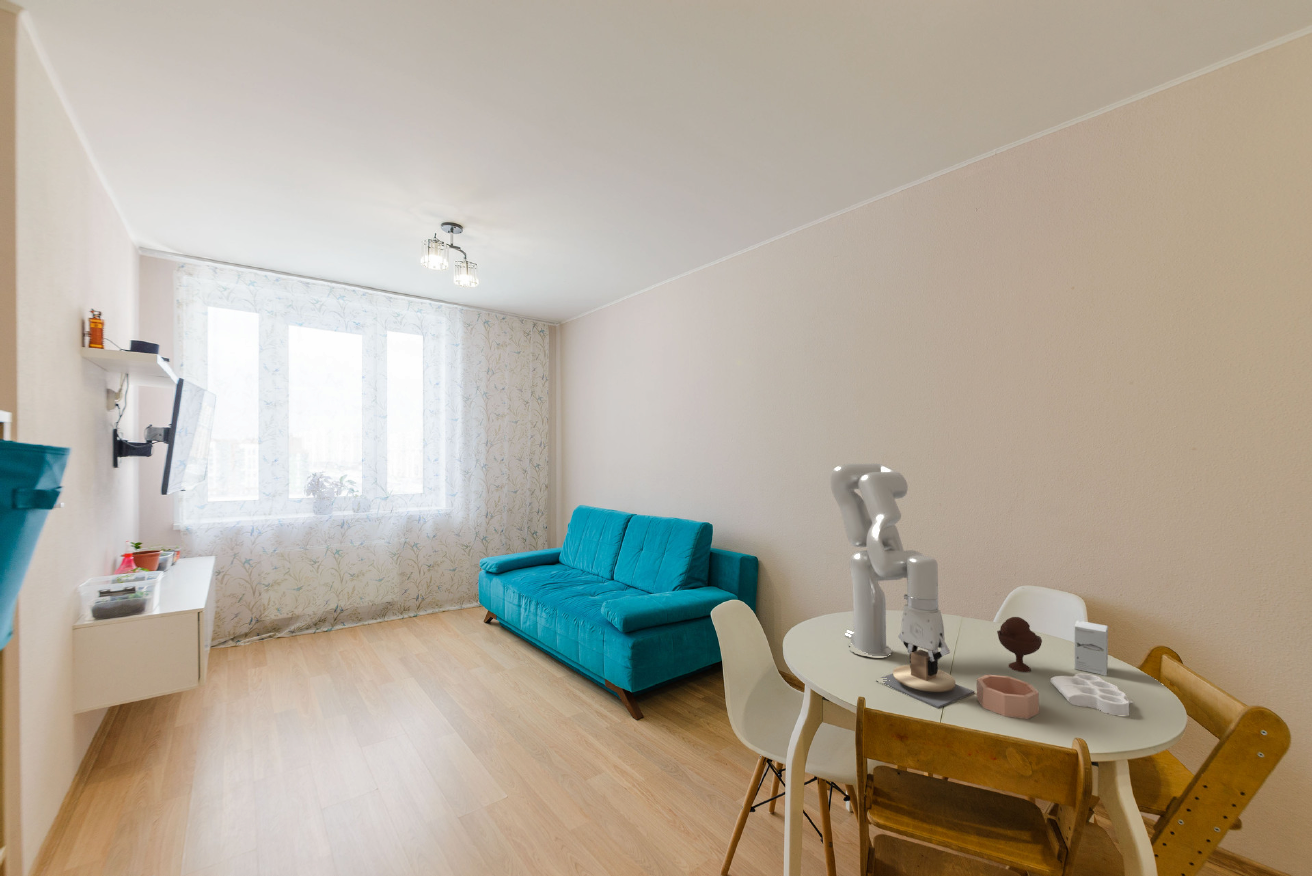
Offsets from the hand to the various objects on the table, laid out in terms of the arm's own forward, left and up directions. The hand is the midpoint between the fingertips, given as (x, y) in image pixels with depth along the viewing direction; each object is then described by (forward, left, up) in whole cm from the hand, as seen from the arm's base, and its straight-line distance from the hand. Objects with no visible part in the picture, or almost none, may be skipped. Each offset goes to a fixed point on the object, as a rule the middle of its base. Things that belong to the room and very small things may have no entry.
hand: (923, 670), depth 145 cm
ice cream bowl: (+7, +35, -5) cm, 36 cm away
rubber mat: (0, 0, -4) cm, 4 cm away
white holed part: (+26, +31, -5) cm, 41 cm away
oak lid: (0, 0, -2) cm, 2 cm away
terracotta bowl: (+17, +8, -4) cm, 19 cm away
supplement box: (+18, +52, -5) cm, 55 cm away
